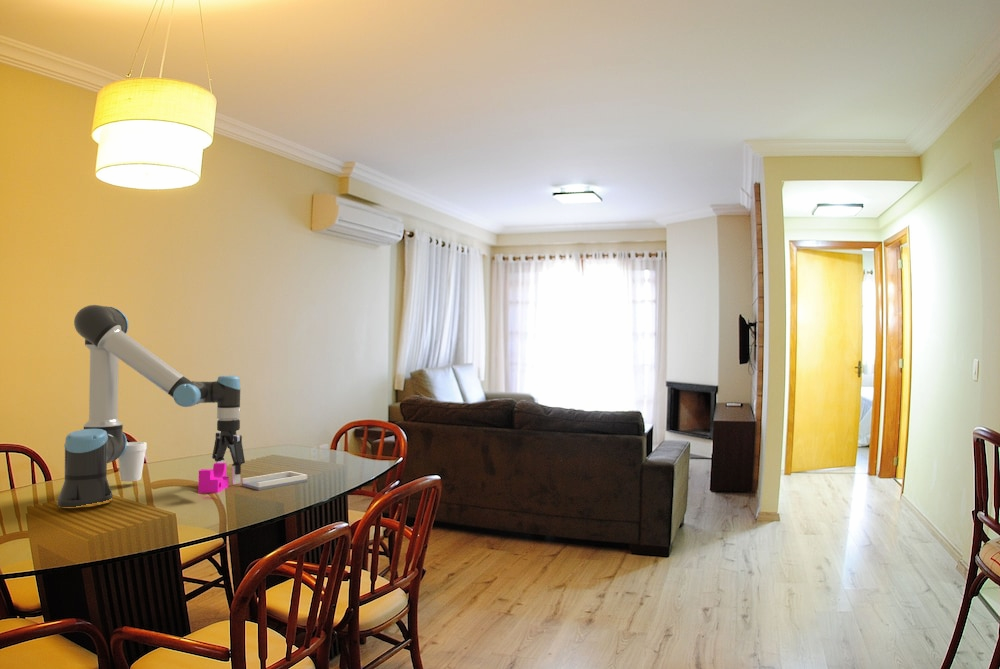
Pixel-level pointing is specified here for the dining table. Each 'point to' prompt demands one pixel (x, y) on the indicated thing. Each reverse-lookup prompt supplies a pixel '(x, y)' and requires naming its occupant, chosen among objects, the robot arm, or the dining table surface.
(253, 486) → the tray
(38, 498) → the dining table surface
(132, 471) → the foam cup
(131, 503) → the dining table surface
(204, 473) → the toy block
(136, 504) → the dining table surface
